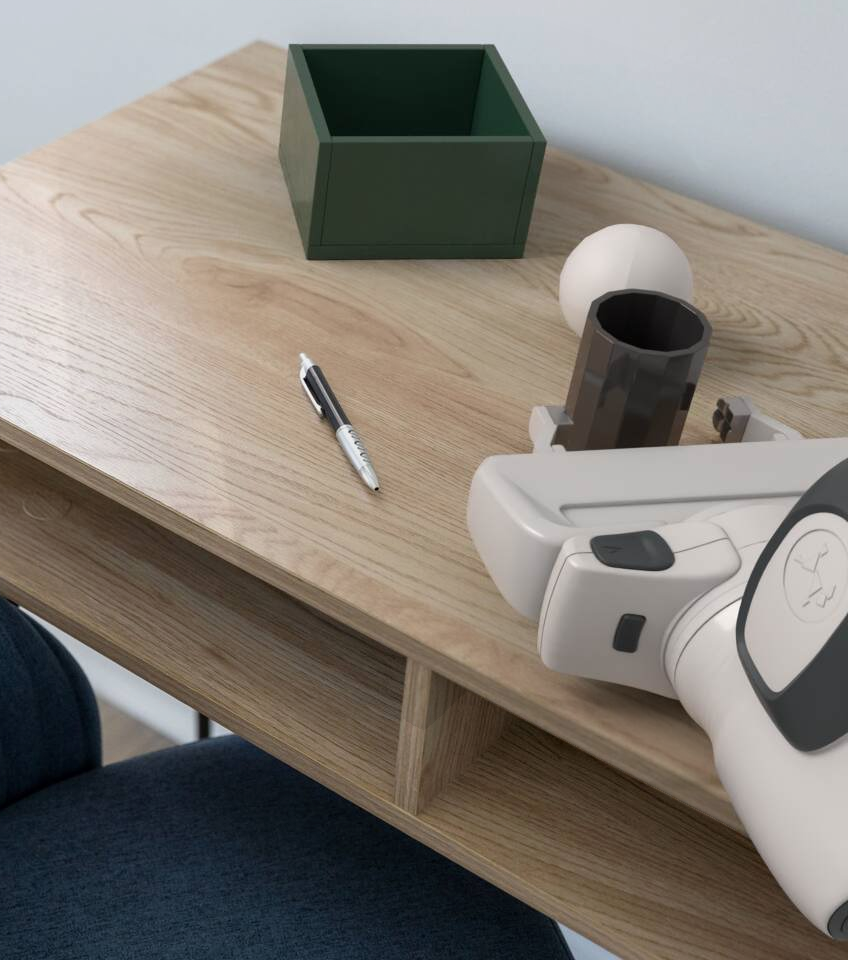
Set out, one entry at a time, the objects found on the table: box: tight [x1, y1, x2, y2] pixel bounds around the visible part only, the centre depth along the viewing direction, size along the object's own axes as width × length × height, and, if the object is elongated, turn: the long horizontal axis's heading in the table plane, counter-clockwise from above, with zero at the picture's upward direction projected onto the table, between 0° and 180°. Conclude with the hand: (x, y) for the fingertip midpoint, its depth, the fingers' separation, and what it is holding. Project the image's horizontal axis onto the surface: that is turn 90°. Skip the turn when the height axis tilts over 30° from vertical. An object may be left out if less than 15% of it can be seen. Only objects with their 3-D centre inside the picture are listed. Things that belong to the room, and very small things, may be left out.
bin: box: [277, 43, 548, 260], centre depth 103 cm, size 14×14×8 cm
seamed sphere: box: [558, 223, 721, 339], centre depth 91 cm, size 10×7×7 cm
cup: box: [564, 288, 714, 452], centre depth 81 cm, size 6×6×10 cm
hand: (637, 411), depth 80 cm, fingers open, 8 cm apart
